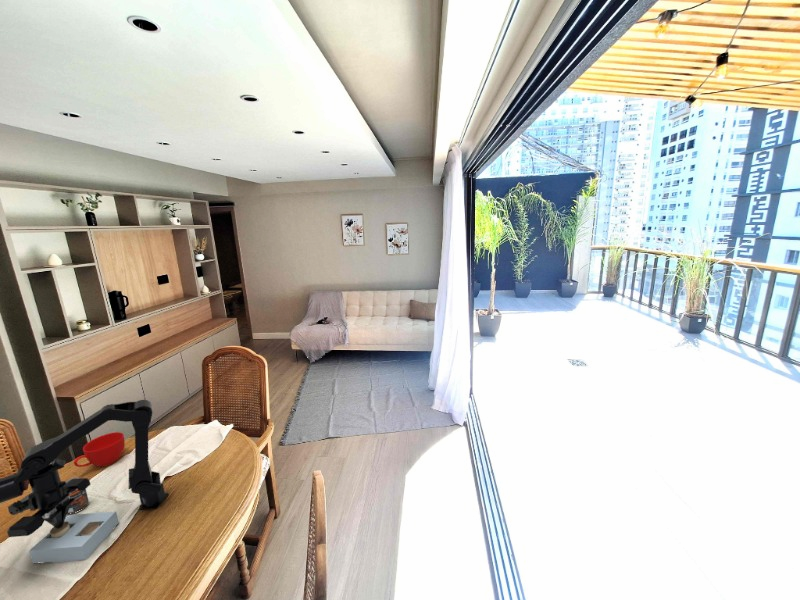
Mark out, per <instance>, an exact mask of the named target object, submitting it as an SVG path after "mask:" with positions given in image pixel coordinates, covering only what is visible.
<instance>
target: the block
mask: <svg viewBox="0 0 800 600" xmlns="http://www.w3.org/2000/svg"><path fill="white" fill-rule="evenodd" d="M118 517H119V516H118V514H117V511H114V510H113V511H102V512H89V513H74V514H68V516H66V518H65V521H67V522H69V526H70V529H69V530H68V531H67V532H66V533H65V534H64V535H63V536H62V537H61V538H52V537H51V534H50V532H48V533H47V534H46V535H45V536H44V537H43V538H41V539H40V540H39V541H38V542H36V544H35V545H34V546H32V547H31V548H30V549H29V550H28V551H29V556H30V557H31V561H32V564H33V563H38V562H53V563H62V562H63V563H64V561H65V562H75V561H86V560H87V559H88V558H89V557H90V556H91V555H92V554H93V552H94V551H95V550H97V548H98V547H100V546H101V544H102V543H103V542H104V541H105V540H106V538H107V537H108V536H110V534H111V533H112V532H113V531H114V530H113V528H114V527H115V526H116V525H117V524H118V523H119V524H120V522H119V521H120V520H119V518H118ZM65 521H64V522H65ZM93 522H98V523H99V527H98V528H97V529H96V530H95V531H94V532H93V533H92V534H91V535H86V536H82V534H81V531H82V529H83V528H84V527H86V526H87V525H89V524H91V523H93ZM119 524H118V525H119ZM118 525H117V526H118ZM117 526H116V527H117ZM116 527H115V528H116ZM112 530H113V531H112ZM111 531H112V532H111Z"/></svg>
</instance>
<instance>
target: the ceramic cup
mask: <svg viewBox="0 0 800 600" xmlns="http://www.w3.org/2000/svg"><path fill="white" fill-rule="evenodd" d="M125 444H126V441H125V435H124V433H123V432H121V431H120V432H119V431H118V432H110V433H106V434H104V435H100V436H98V437H95V438H93V439H91V440H90V441H88V442H87V443H86V444H84V446H83V447H82V451H83V454H84V455H80V456H77V457H76V458H75V459H74V461H73V465H74V466H75V467H78V468H81V467H82V468H83V467H88V466H91V465H94V466H98V467H107V466H109V465H112V464H114V463H115V462H117V461H118V460H119V458H120V457H121V455H122V454H123V452H124V451H125V450H124V449H125ZM82 458H86V459H87V461H88V463H84V464H78V461H79V460H80V459H82Z"/></svg>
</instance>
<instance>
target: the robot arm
mask: <svg viewBox="0 0 800 600" xmlns="http://www.w3.org/2000/svg"><path fill="white" fill-rule="evenodd" d="M152 405H153V404H152V402H151V401H150V400H147V399H140V400H137V401H126V402H121V403H114V404H113V403H111V404H106V405H103V406H102V408H101V409H99V410H97V411H96V412H94V413H92V414H91V415H90V416H88V417H87V418H85V419H83V420H82V421H80V422H78V423H77V424H76V425H74V426H72V427H71V428H69V429H68V430H66V431H64V432H63V433H61V434H59V435H57V436H55V437H52V438H49V439H46V440H44V441H42V442H39V443H38V444H36V445H33V447H30V448H29V450H27V452H26V453H25V455H24V457H23V459H22V461H21V462H20V463H21V464H20V466H19V469H18V471H17V473H14V474H11V475H7V476H4V477H2V478H0V504H2V503H5V502H8V501H11V500H13V499H16V498H18V497H21V496H23V495H24V493H25V491H27V490H28V489H29V486H30V489H31V492H30V493H29V494H27V495H25V496H24V497H23V498H21V499H20V500H17V501H15V502H13V503H12V504H10V505H8V506H7V509H8V513H9V514H10V515H12V516H15V515H17V514H21V513H24V512H25V511H28V510H29V511H30V512H32V511H36V510H37V511H36V512H35V513H34V514H32V515H28V516H23V517H21V518H20V519H18V520H17V521H16V522H15V523H13V524H12V525H11V526H9V528H8V529H7V530H6V532H7V537H8V538H16V537H28V536H31V535H33V534H34V533H35V532H36V531H37V530H39V528H41V527H42V526H43V524H44V522H47V523H48V524H50V525H51V526H52V527H55V528H60V527H62V526H63V523H64V521H65V518H67V515H68V514H67V513H68V511H69V508H70V506H71V504H72V502H73V501H74V499H70V498H69V495H70V494H72V493H73V492H74V491H75V490H76V489H77V488H78V491H84V490H85V489H86V490H87V489H88V487H89V486H91V481H90V478H88V477H82V478H79V477H78V478H79V479H72V478H71V479H72V480H70V481H69V482H68V483H67V484H66V481H65V480H64V481H62V480H61V476H60V474H59V470H61V469H63V468H65V464H66V459H58V458H59V456H60V455H61V454H63V452H64V451H65V450H67V448H69V447H70V446H72V445H73V444H75V443H76V442H78V441H79V440H81V439H82V438H84V437H85V436H88V435H89V434H90V433H92V432H94V431H95V430H96V429H97V428H100V427H101V426H102V425H104V424H106V423H107V422H108V421H117V422H125V423H126V422H128V423H129V422H131V424H132V427H133V430H134V453H135V454H134V458H135V459H134V466H133V468H129V469H128V490H131V493H132V494H137V495H138V496H139V501H140V504H141V505H140V507H138V510H139V511H143V510H144V511H145V510H157V509H158V508H159V507H160V506H161V505H162V504H163V503H164V501H165V500H166V499H167V498H168V497H169V495H170V493H169V492H165V487H164V484H163V483H162V482H161V474H160V472H157V471H152V469H151V468H152V467H151V463H150V462H149V427H150V425H151V421H152V417H153V406H152Z"/></svg>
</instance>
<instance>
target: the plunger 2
mask: <svg viewBox="0 0 800 600" xmlns="http://www.w3.org/2000/svg"><path fill="white" fill-rule="evenodd" d="M98 527H99V523H98V522H93V523H91V524H89V525H87V526H86V527H84V528H83V529H82V531H81V534H82V536H86V535H91V534H92V533H93V532H94V531H95V530H96V529H97V528H98Z"/></svg>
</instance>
